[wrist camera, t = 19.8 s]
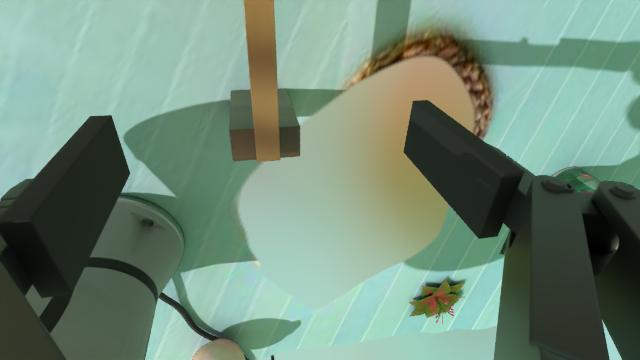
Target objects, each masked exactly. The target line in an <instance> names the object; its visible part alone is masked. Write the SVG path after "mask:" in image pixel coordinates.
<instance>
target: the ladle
mask: <svg viewBox="0 0 640 360" xmlns="http://www.w3.org/2000/svg"><path fill="white" fill-rule="evenodd" d="M243 4H244V16H245V28H246V40H247V51H248V63H249V75H250V87H251V99H252V110H253V122H254V134H255V146H256V157H257V162H261V161H274V160H280V138H279V114H278V89H277V65H276V40H275V16H274V0H243Z"/></svg>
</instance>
